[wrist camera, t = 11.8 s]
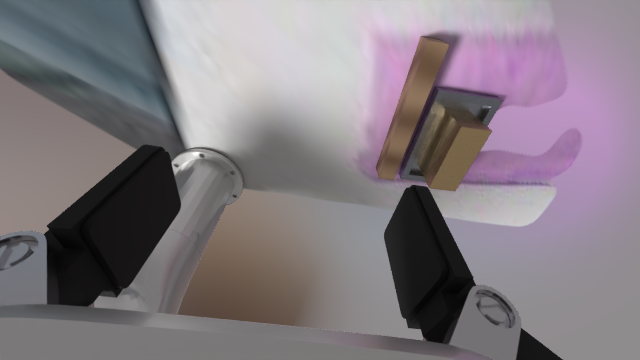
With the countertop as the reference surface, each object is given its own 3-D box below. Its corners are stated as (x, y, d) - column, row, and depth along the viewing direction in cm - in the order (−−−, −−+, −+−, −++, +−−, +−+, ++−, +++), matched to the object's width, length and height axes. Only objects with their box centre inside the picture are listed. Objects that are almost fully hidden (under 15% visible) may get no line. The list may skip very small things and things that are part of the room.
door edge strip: (390, 169, 43) (393, 180, 41) (375, 167, 43) (378, 178, 40) (440, 39, 31) (449, 44, 28) (420, 36, 31) (428, 40, 28)
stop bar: (470, 111, 36) (492, 131, 31) (441, 168, 42) (455, 191, 37) (443, 108, 35) (461, 126, 31) (417, 165, 42) (429, 188, 37)
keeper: (448, 179, 44) (451, 185, 43) (398, 173, 43) (400, 178, 42) (497, 96, 35) (503, 100, 34) (435, 86, 34) (438, 90, 33)
